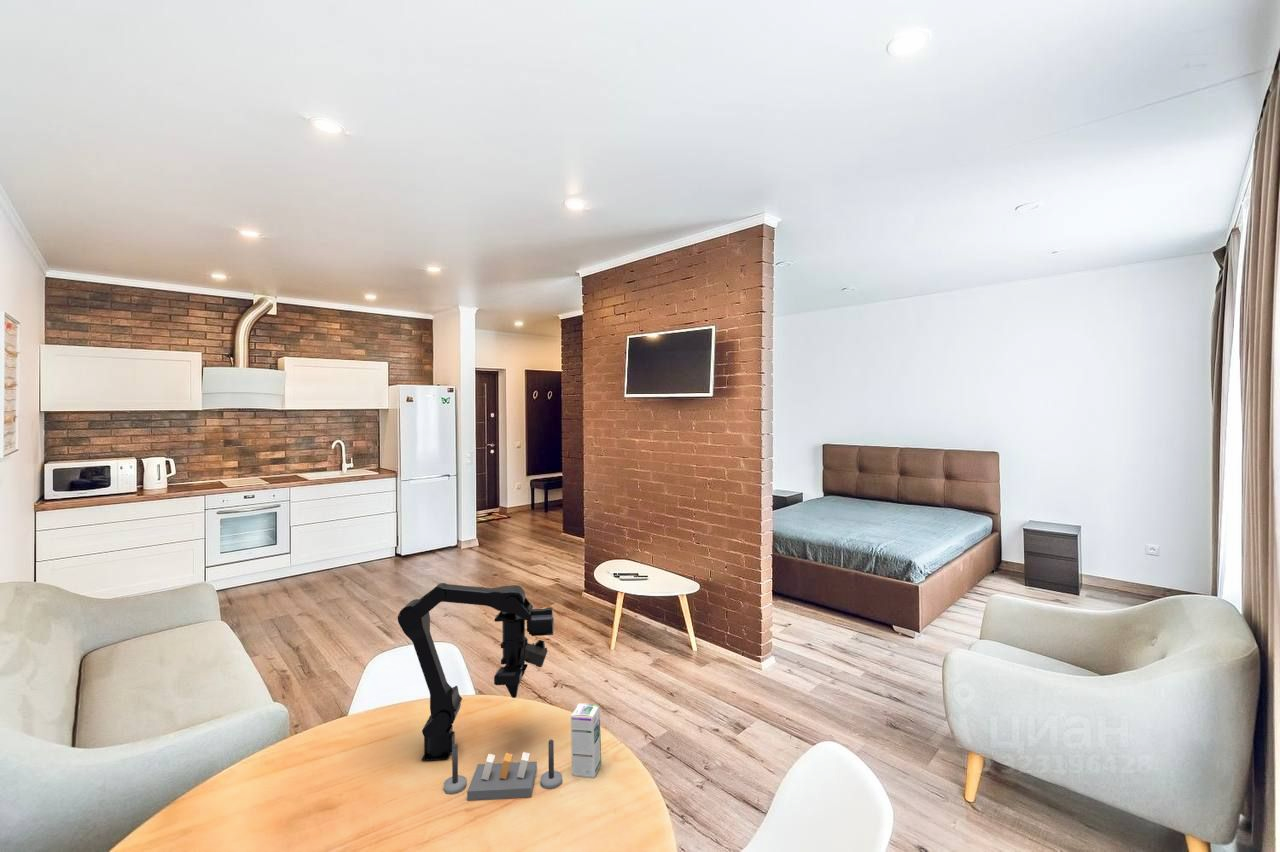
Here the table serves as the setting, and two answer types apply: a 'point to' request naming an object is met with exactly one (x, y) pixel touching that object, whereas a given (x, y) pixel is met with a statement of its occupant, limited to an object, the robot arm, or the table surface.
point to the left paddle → (488, 767)
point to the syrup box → (586, 740)
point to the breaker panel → (502, 783)
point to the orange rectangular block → (505, 766)
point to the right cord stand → (551, 771)
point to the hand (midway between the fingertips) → (514, 697)
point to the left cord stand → (455, 776)
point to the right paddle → (523, 765)
